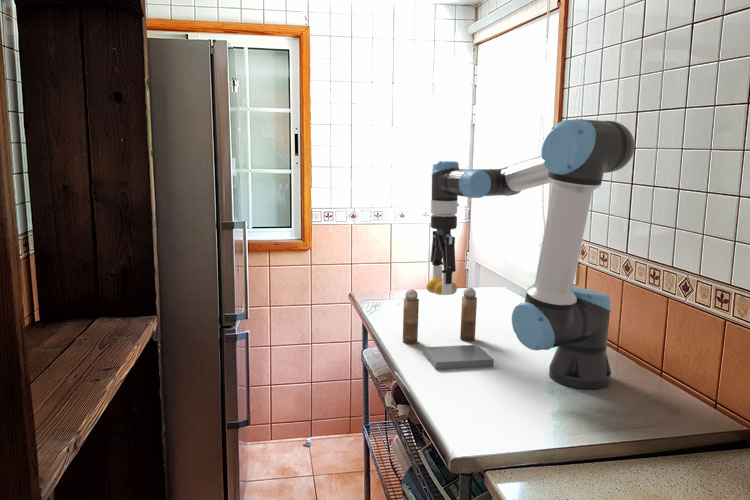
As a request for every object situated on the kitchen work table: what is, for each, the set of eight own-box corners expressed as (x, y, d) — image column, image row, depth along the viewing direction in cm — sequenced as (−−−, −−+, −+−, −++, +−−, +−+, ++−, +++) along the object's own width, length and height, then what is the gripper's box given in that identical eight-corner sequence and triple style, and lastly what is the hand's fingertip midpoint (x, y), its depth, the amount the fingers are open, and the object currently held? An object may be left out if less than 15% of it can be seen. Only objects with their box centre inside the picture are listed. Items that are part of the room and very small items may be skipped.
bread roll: (444, 297, 177) (444, 283, 176) (421, 291, 184) (422, 278, 183) (463, 292, 182) (463, 279, 182) (441, 287, 189) (441, 274, 188)
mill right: (476, 341, 186) (479, 289, 183) (463, 341, 185) (465, 289, 182) (471, 336, 190) (474, 285, 188) (458, 337, 190) (460, 286, 187)
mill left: (419, 343, 183) (420, 291, 180) (404, 344, 182) (406, 291, 179) (415, 339, 187) (416, 287, 184) (401, 339, 186) (402, 287, 183)
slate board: (493, 366, 166) (493, 359, 165) (435, 369, 162) (435, 362, 162) (477, 351, 177) (477, 344, 177) (423, 354, 174) (423, 347, 174)
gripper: (469, 219, 170) (466, 299, 173) (444, 210, 191) (442, 282, 194) (443, 219, 168) (440, 299, 172) (421, 211, 189) (419, 283, 193)
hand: (441, 290), depth 183 cm, fingers closed on bread roll, 9 cm apart
